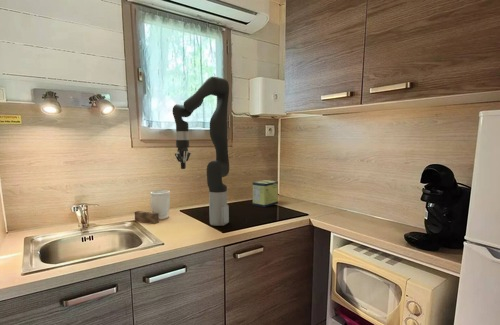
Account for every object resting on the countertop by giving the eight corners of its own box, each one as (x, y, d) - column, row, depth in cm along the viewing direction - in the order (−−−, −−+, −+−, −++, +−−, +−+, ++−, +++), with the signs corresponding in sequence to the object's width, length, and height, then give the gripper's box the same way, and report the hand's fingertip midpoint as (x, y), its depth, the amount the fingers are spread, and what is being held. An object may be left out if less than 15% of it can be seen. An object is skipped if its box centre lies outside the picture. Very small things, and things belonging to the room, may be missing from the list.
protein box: (278, 203, 188) (278, 181, 187) (264, 207, 177) (264, 183, 176) (266, 201, 195) (266, 179, 194) (252, 205, 184) (252, 182, 182)
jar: (172, 215, 159) (172, 189, 158) (167, 220, 149) (166, 193, 148) (155, 215, 160) (154, 189, 158) (147, 220, 149) (146, 193, 148)
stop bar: (158, 222, 145) (158, 213, 145) (155, 223, 143) (155, 214, 143) (138, 219, 150) (137, 210, 150) (134, 220, 148) (134, 211, 148)
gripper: (181, 139, 151) (182, 170, 153) (194, 139, 164) (194, 168, 165) (170, 139, 154) (171, 169, 155) (183, 139, 166) (184, 167, 168)
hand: (183, 168), depth 160 cm, fingers closed
